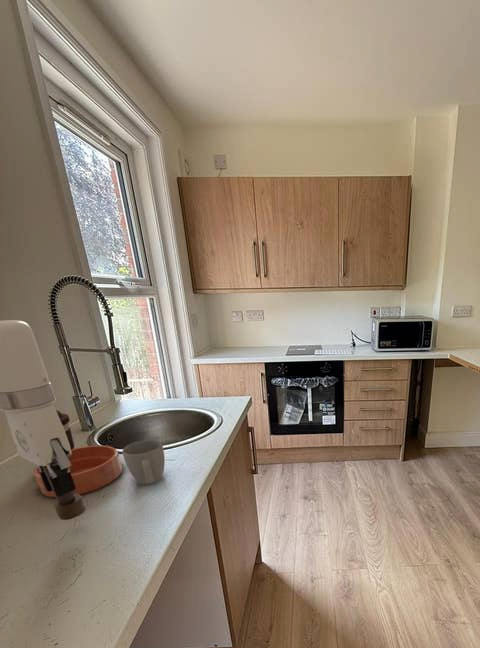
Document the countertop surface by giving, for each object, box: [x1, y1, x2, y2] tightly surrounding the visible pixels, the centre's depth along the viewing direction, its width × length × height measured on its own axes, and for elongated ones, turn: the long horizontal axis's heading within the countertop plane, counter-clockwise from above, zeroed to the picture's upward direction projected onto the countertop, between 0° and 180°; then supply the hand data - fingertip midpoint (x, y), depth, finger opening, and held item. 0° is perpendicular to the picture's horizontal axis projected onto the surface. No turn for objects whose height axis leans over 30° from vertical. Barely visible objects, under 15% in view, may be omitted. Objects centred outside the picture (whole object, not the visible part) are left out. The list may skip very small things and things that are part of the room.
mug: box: [122, 439, 166, 486], centre depth 85 cm, size 12×9×10 cm
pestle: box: [43, 463, 87, 521], centre depth 66 cm, size 4×4×11 cm
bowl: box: [33, 444, 123, 498], centre depth 88 cm, size 17×17×6 cm
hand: (61, 489), depth 66 cm, fingers closed on pestle, 2 cm apart
